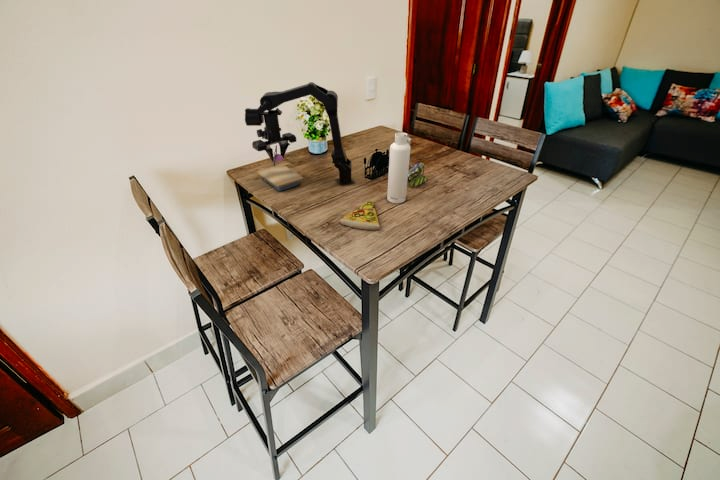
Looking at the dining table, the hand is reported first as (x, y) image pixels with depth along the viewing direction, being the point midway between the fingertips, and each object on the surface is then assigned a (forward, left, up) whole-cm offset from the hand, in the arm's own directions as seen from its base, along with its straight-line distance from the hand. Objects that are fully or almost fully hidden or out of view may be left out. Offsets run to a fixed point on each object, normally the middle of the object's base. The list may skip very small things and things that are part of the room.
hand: (277, 160), depth 151 cm
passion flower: (-26, -58, -11) cm, 64 cm away
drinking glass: (+3, -68, -11) cm, 69 cm away
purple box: (0, -1, -1) cm, 1 cm away
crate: (0, 0, -11) cm, 11 cm away
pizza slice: (-43, -24, -11) cm, 50 cm away
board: (0, 0, -8) cm, 8 cm away
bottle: (-36, -42, -11) cm, 56 cm away
